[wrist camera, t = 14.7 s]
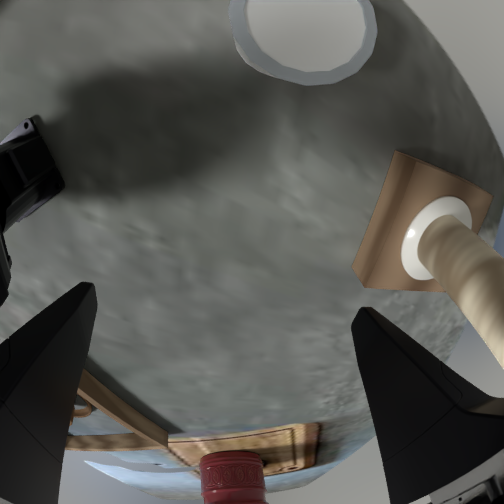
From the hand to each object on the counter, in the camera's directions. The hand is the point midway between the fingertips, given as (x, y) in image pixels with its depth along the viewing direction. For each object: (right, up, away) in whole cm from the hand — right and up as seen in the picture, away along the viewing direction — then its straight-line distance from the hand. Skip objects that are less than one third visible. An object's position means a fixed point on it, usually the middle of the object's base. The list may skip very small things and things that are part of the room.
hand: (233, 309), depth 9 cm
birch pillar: (+16, +3, +12) cm, 20 cm away
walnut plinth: (+16, +4, +15) cm, 22 cm away
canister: (-4, -41, +41) cm, 58 cm away
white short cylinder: (+2, +16, +6) cm, 17 cm away
